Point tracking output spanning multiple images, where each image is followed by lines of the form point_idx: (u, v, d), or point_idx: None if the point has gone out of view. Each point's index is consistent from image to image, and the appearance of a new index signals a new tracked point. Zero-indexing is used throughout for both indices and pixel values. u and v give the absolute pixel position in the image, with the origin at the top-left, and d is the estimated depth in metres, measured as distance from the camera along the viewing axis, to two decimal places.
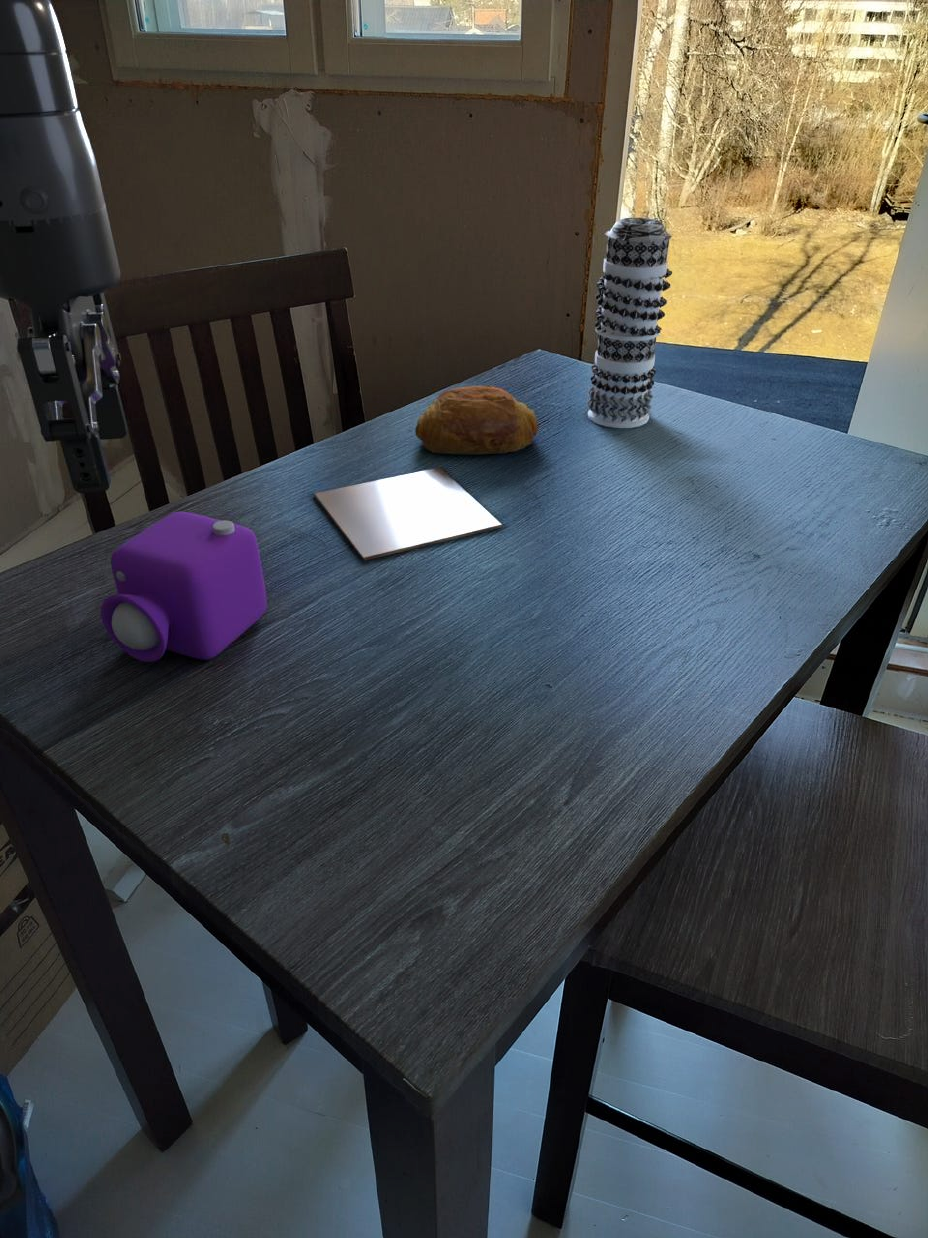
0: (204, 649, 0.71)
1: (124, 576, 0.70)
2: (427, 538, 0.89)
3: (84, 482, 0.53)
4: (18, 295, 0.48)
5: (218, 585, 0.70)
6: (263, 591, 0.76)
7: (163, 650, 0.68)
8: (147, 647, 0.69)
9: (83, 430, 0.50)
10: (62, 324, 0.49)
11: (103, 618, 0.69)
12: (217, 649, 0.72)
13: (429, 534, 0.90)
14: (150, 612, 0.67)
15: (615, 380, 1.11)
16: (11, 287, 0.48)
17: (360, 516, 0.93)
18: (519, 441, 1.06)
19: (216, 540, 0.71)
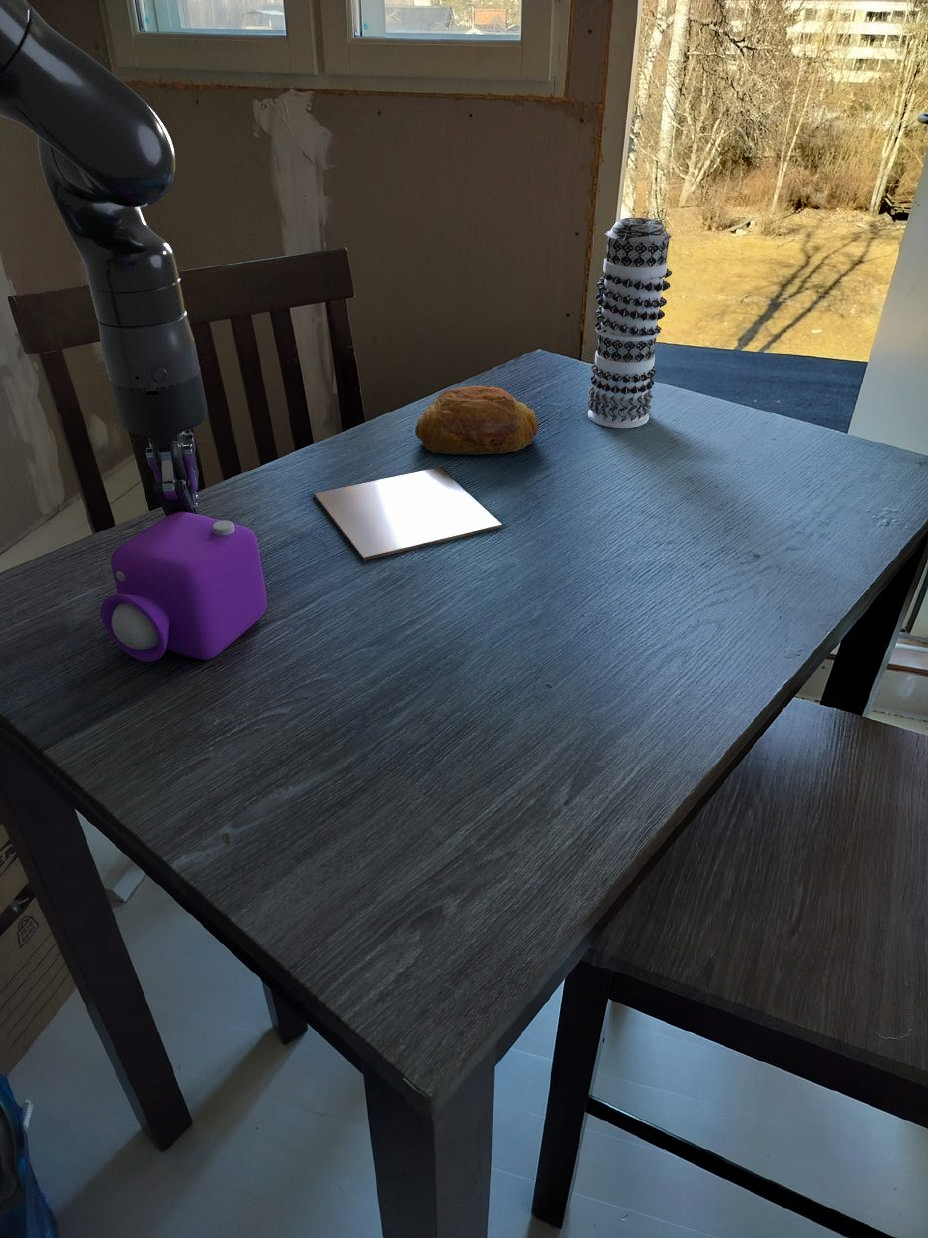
0: (204, 649, 0.71)
1: (124, 576, 0.70)
2: (427, 538, 0.89)
3: None
4: (144, 432, 0.72)
5: (218, 585, 0.70)
6: (263, 591, 0.76)
7: (163, 650, 0.68)
8: (147, 647, 0.69)
9: None
10: (174, 459, 0.73)
11: (103, 618, 0.69)
12: (217, 649, 0.72)
13: (429, 534, 0.90)
14: (150, 612, 0.67)
15: (615, 380, 1.11)
16: (140, 427, 0.72)
17: (360, 516, 0.93)
18: (519, 441, 1.06)
19: (216, 540, 0.71)
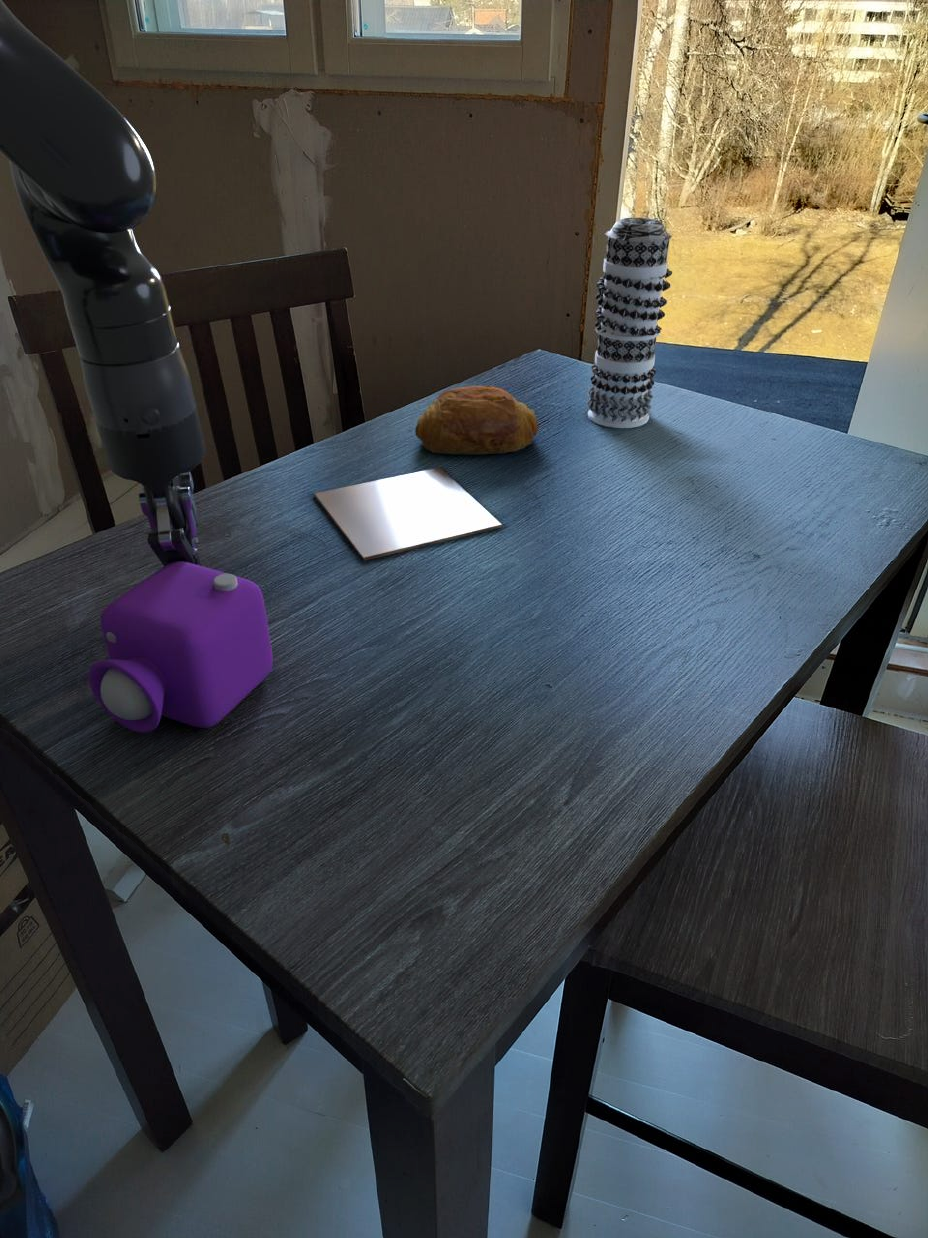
0: (203, 718, 0.64)
1: (115, 637, 0.63)
2: (427, 538, 0.89)
3: None
4: (136, 478, 0.65)
5: (219, 648, 0.63)
6: (269, 649, 0.69)
7: (157, 722, 0.61)
8: (139, 718, 0.62)
9: (192, 563, 0.71)
10: (170, 507, 0.66)
11: (91, 684, 0.63)
12: (217, 717, 0.65)
13: (429, 534, 0.90)
14: (142, 681, 0.60)
15: (615, 380, 1.11)
16: (131, 473, 0.65)
17: (360, 516, 0.93)
18: (519, 441, 1.06)
19: (217, 597, 0.64)
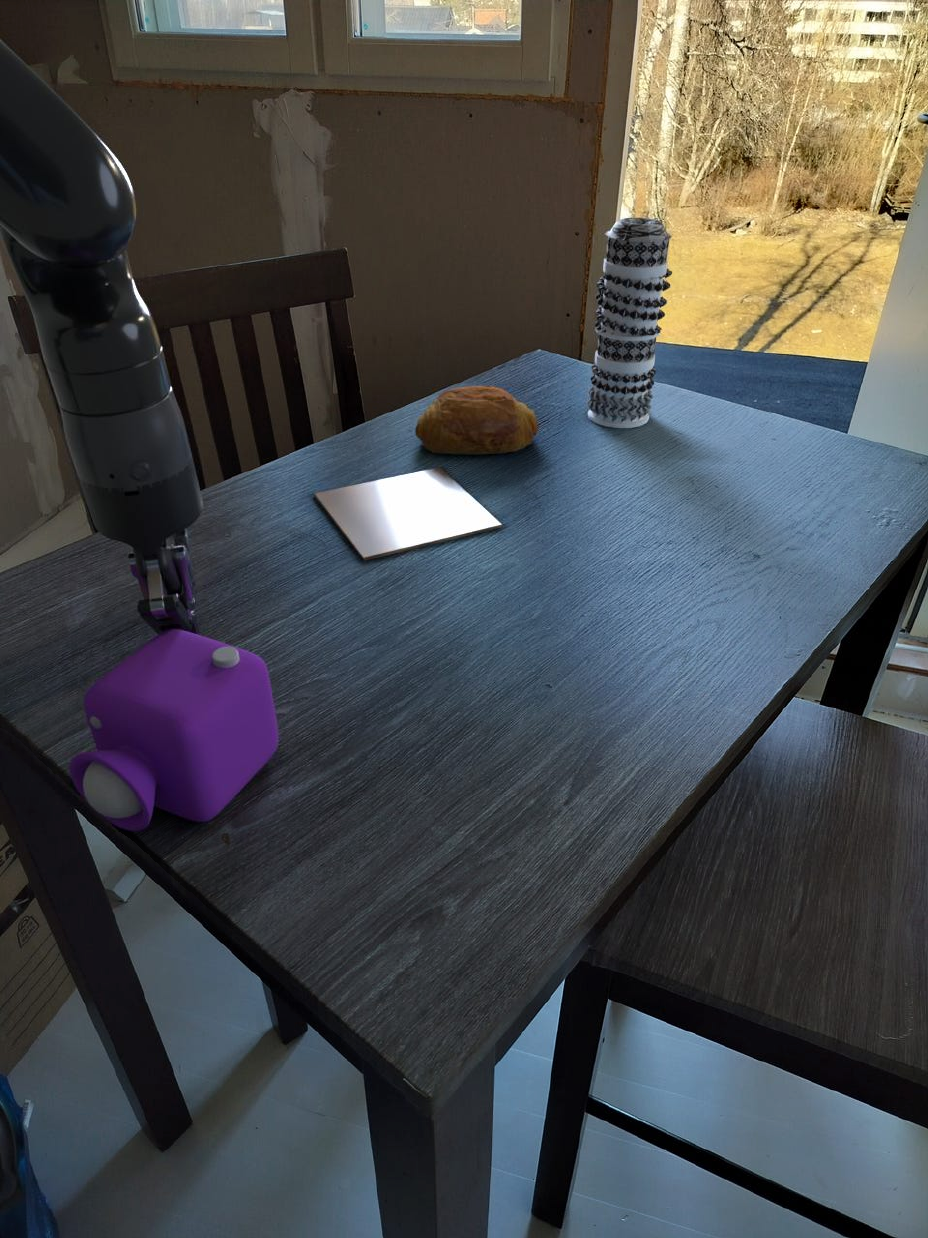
0: (200, 812, 0.57)
1: (100, 723, 0.55)
2: (427, 538, 0.89)
3: None
4: (124, 539, 0.57)
5: (218, 735, 0.55)
6: (275, 727, 0.62)
7: (147, 821, 0.54)
8: (127, 816, 0.54)
9: (189, 629, 0.63)
10: (163, 570, 0.59)
11: (73, 777, 0.55)
12: (216, 809, 0.57)
13: (429, 534, 0.90)
14: (131, 778, 0.52)
15: (615, 380, 1.11)
16: (119, 534, 0.57)
17: (360, 516, 0.93)
18: (519, 441, 1.06)
19: (216, 675, 0.56)
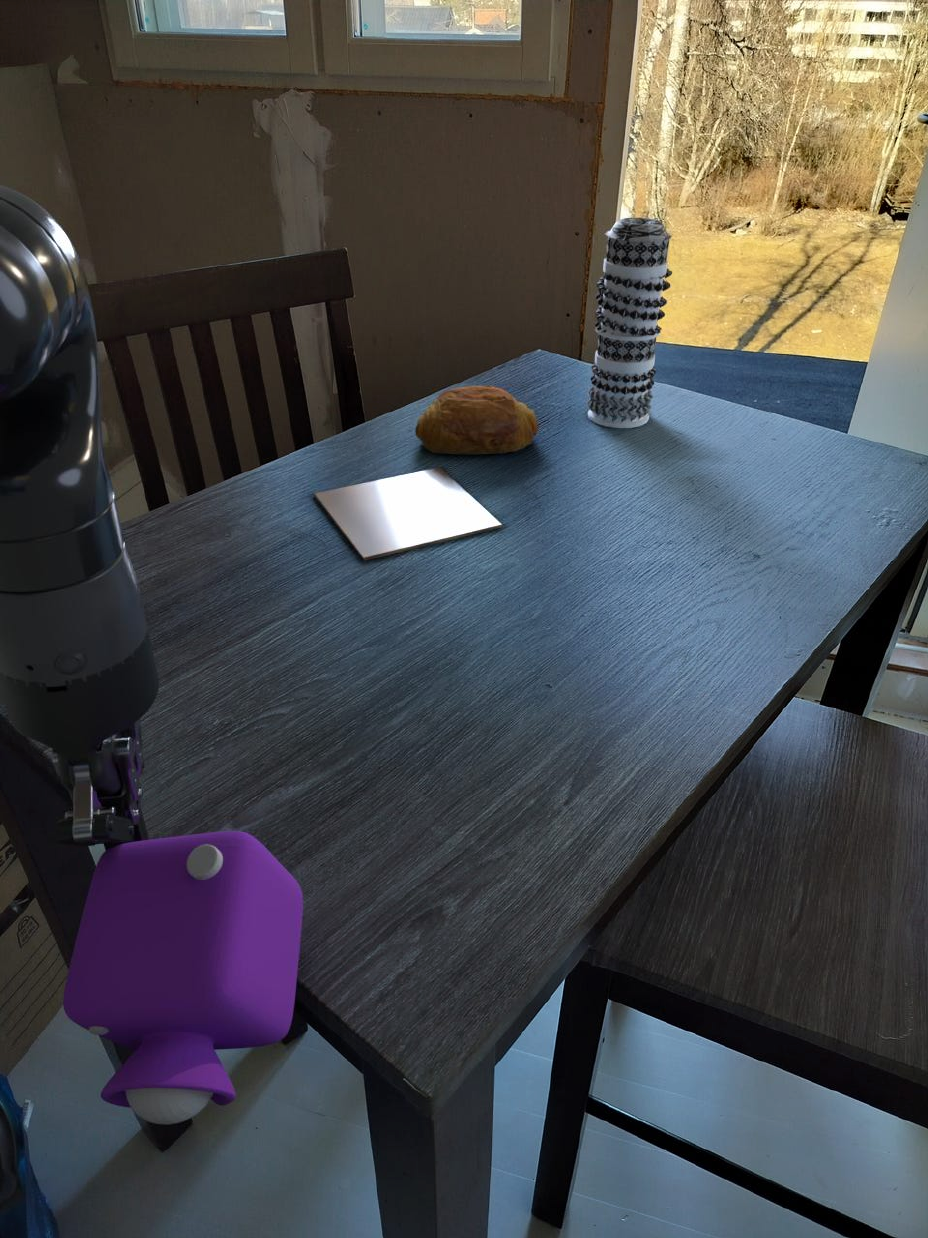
0: (277, 1037, 0.45)
1: (105, 1029, 0.42)
2: (427, 538, 0.89)
3: None
4: (45, 742, 0.42)
5: (256, 959, 0.43)
6: (292, 882, 0.49)
7: (234, 1098, 0.42)
8: (205, 1104, 0.42)
9: (128, 841, 0.48)
10: (95, 781, 0.43)
11: (111, 1102, 0.42)
12: (290, 1018, 0.46)
13: (429, 534, 0.90)
14: (192, 1080, 0.40)
15: (615, 380, 1.11)
16: (37, 734, 0.42)
17: (360, 516, 0.93)
18: (519, 441, 1.06)
19: (210, 893, 0.43)
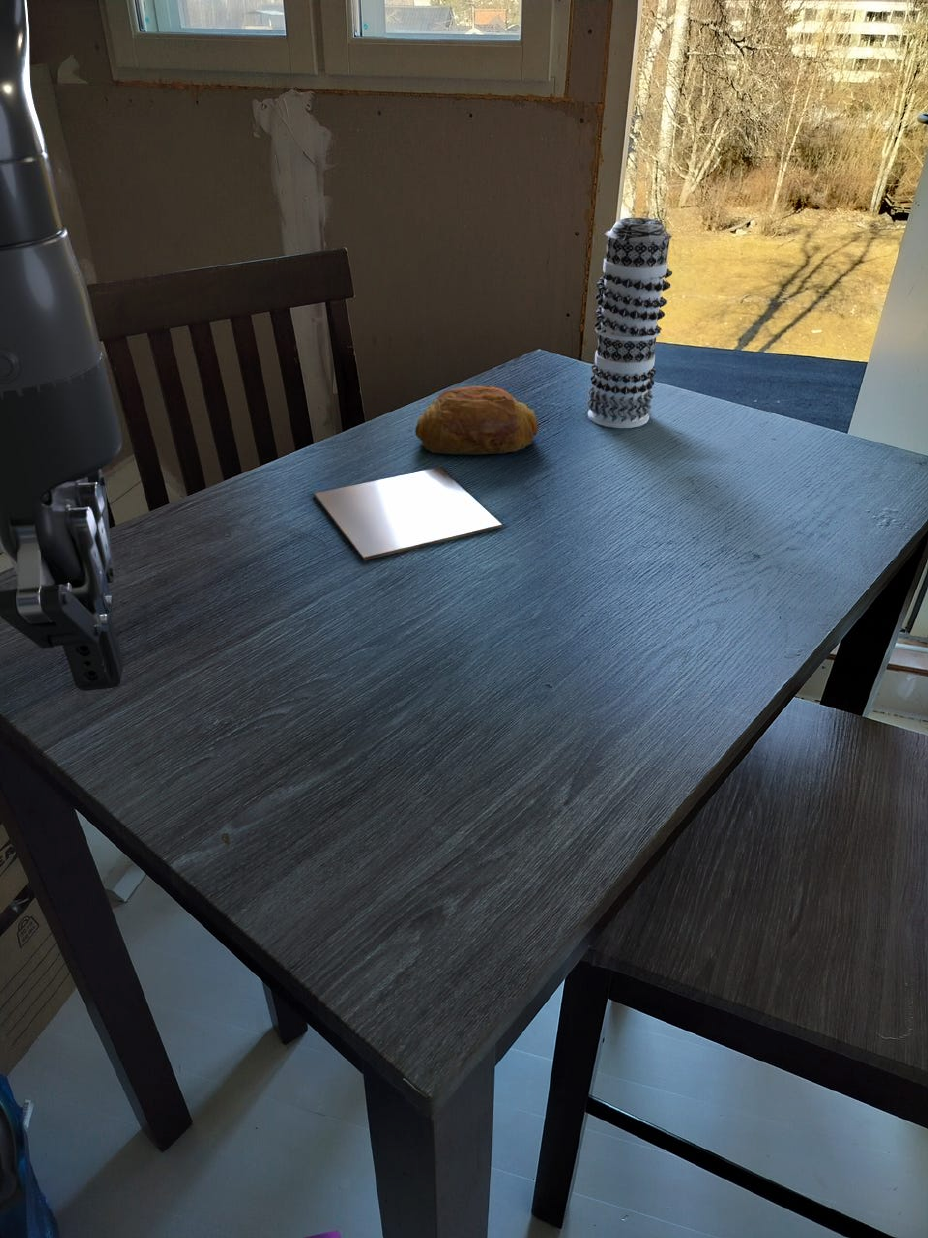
0: None
1: None
2: (427, 538, 0.89)
3: (89, 682, 0.43)
4: None
5: None
6: None
7: None
8: None
9: (93, 642, 0.40)
10: (44, 543, 0.35)
11: None
12: None
13: (429, 534, 0.90)
14: None
15: (615, 380, 1.11)
16: None
17: (360, 516, 0.93)
18: (519, 441, 1.06)
19: None
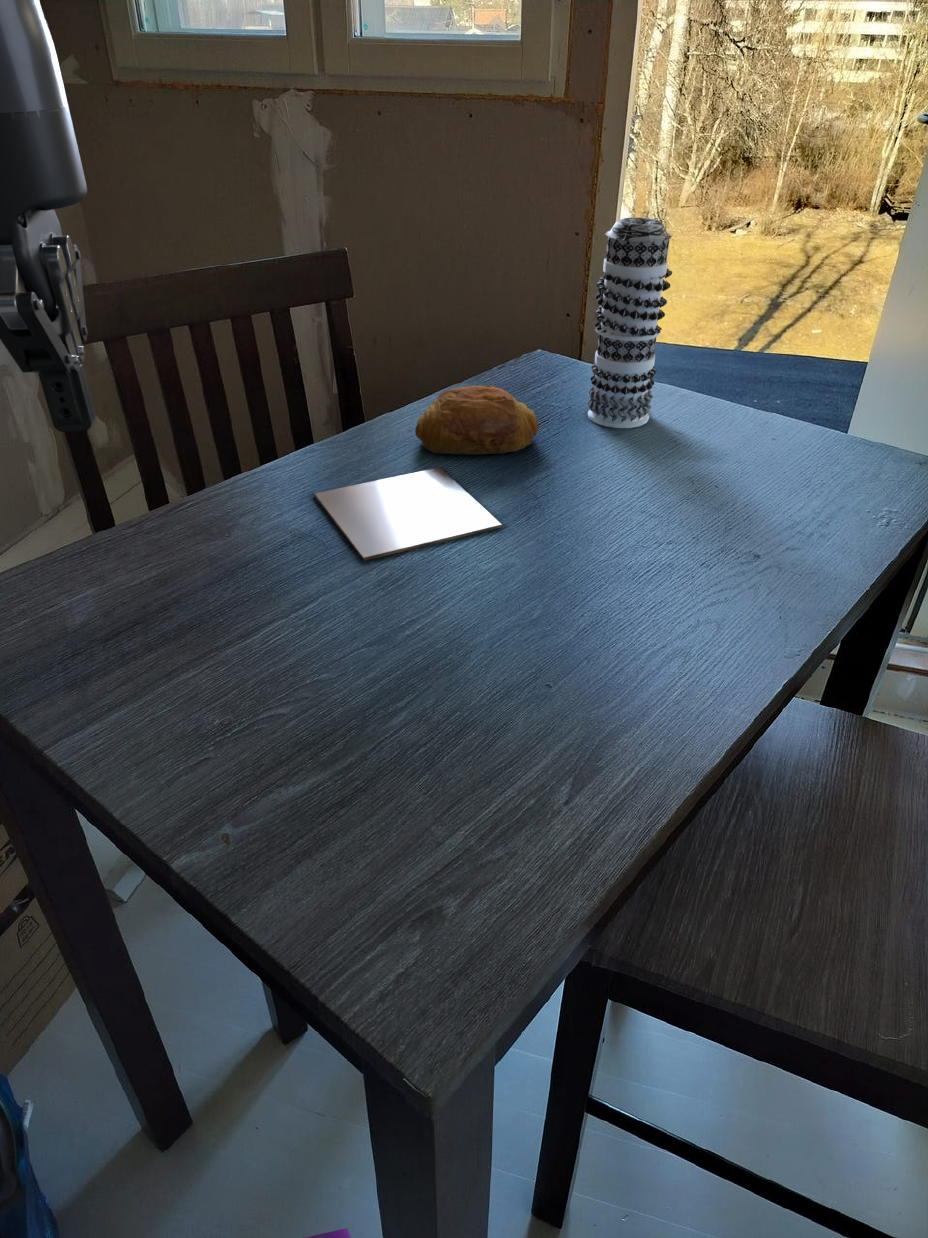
0: None
1: None
2: (427, 538, 0.89)
3: (64, 419, 0.51)
4: None
5: None
6: None
7: None
8: None
9: (64, 367, 0.48)
10: (20, 258, 0.43)
11: None
12: None
13: (429, 534, 0.90)
14: None
15: (615, 380, 1.11)
16: None
17: (360, 516, 0.93)
18: (519, 441, 1.06)
19: None
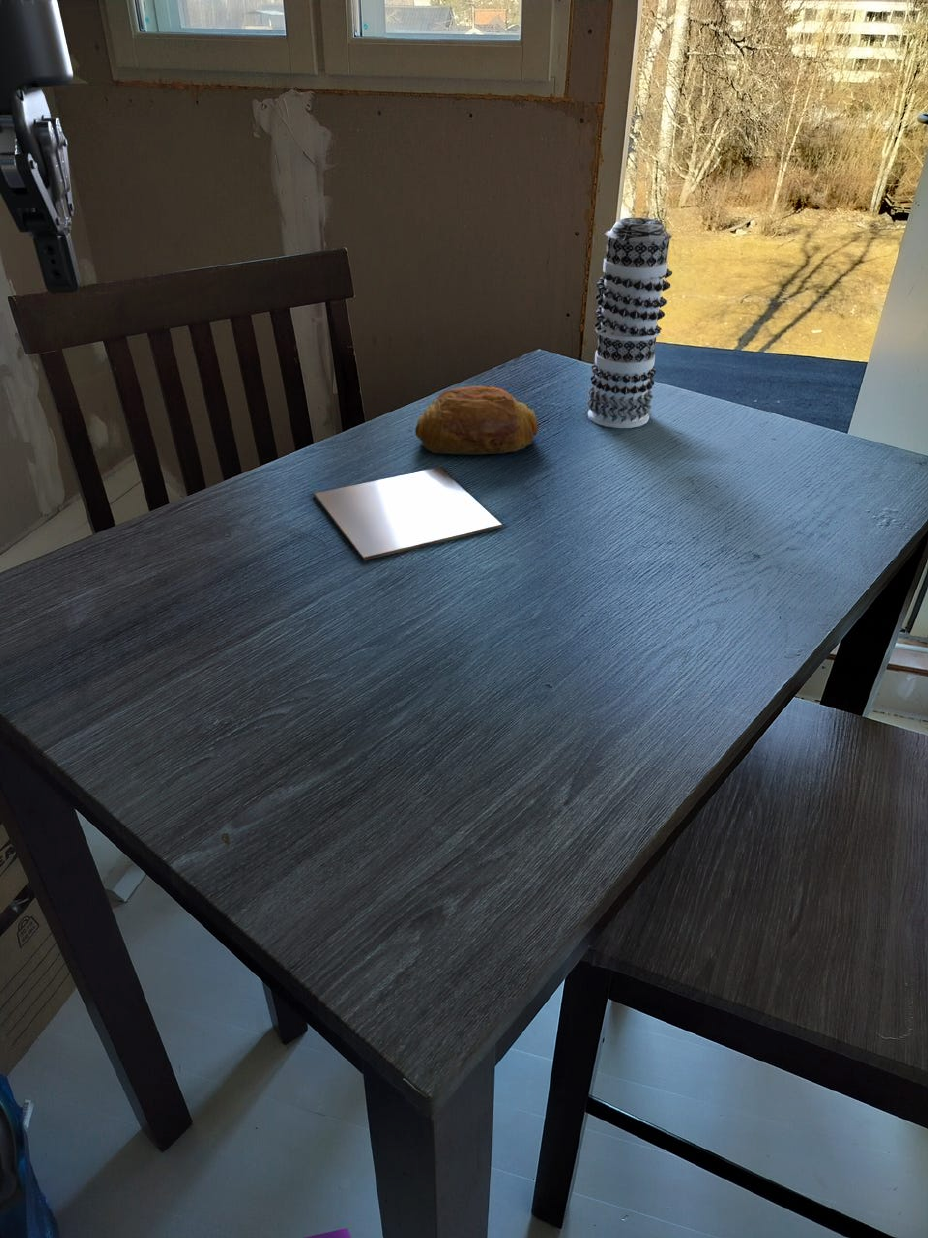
0: None
1: None
2: (427, 538, 0.89)
3: (55, 280, 0.60)
4: None
5: None
6: None
7: None
8: None
9: (55, 228, 0.56)
10: (18, 125, 0.52)
11: None
12: None
13: (429, 534, 0.90)
14: None
15: (615, 380, 1.11)
16: None
17: (360, 516, 0.93)
18: (519, 441, 1.06)
19: None
